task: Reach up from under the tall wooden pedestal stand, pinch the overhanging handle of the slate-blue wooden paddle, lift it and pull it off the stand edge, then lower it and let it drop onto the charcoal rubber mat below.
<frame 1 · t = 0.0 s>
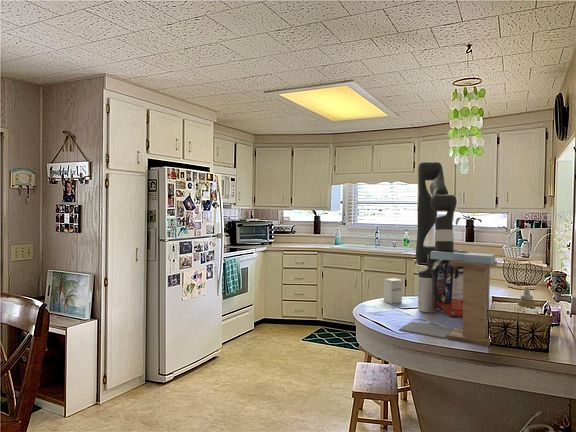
hand: (444, 278, 184), 22 cm above the table, tool pointing down, fingers open, 8 cm apart
squeeze bottle: (526, 328, 189), on the table
cereal box: (451, 311, 218), on the table
mat: (427, 330, 184), on the table
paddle: (466, 260, 174), point 31 cm above the table, touching wooden pedestal stand
wooden pedestal stand: (471, 338, 174), on the table
supplement box: (392, 302, 239), on the table
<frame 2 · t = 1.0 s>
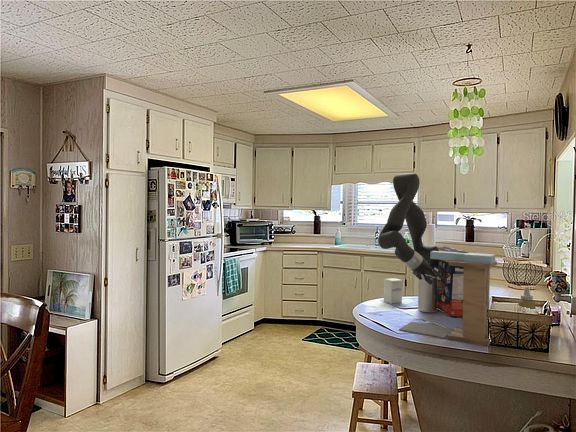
hand: (438, 282, 195), 18 cm above the table, tool tilted 50°, fingers open, 8 cm apart
nothing on the table moved.
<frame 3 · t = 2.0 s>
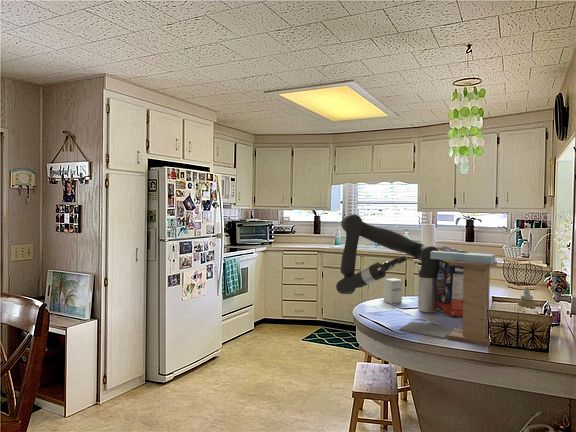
hand: (402, 258, 196), 29 cm above the table, tool pointing upward, fingers open, 8 cm apart
nothing on the table moved.
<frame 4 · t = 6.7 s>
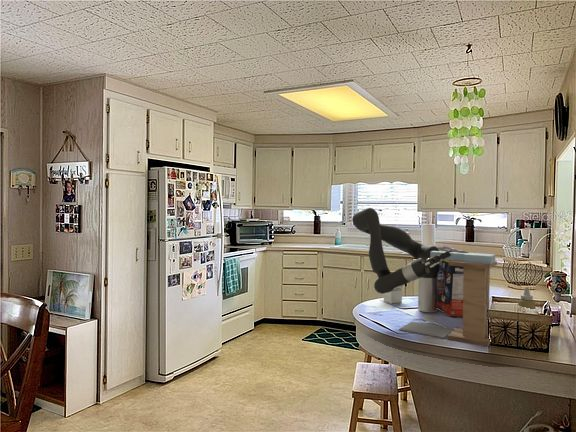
hand: (451, 252, 178), 34 cm above the table, tool pointing upward, fingers closed on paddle, 3 cm apart
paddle: (466, 260, 174), point 31 cm above the table, touching gripper, wooden pedestal stand
everything else where it was.
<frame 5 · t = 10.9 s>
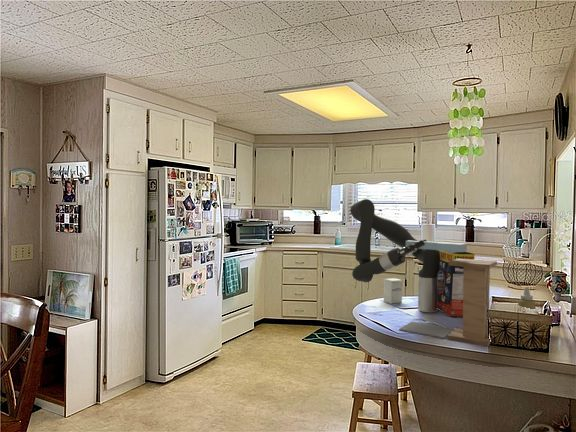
hand: (425, 241, 184), 38 cm above the table, tool pointing upward, fingers closed on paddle, 3 cm apart
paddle: (439, 249, 181), point 35 cm above the table, touching gripper
everything else where it was.
when the fingers open (27 cm above the table, at t = 15.5 s): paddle drops 24 cm, resting on mat.
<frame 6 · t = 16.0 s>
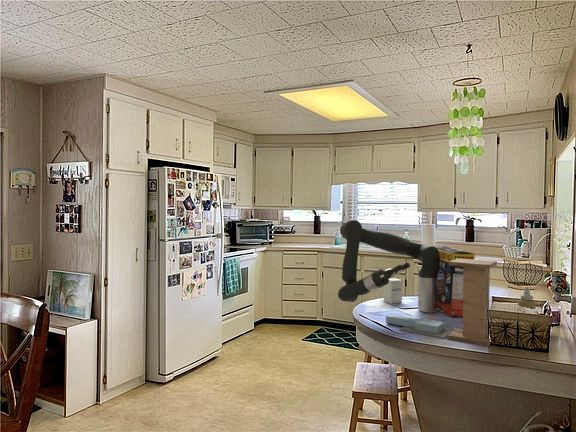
hand: (405, 265, 189), 27 cm above the table, tool pointing upward, fingers open, 8 cm apart
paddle: (417, 327, 187), point 1 cm above the table, touching mat
everything else where it was.
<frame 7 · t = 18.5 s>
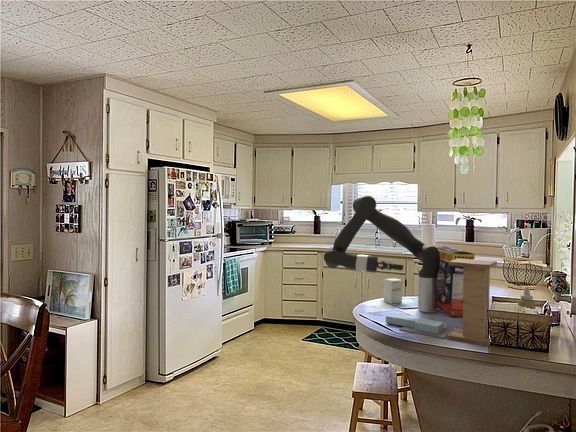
hand: (402, 267, 195), 25 cm above the table, tool horizontal, fingers open, 8 cm apart
nothing on the table moved.
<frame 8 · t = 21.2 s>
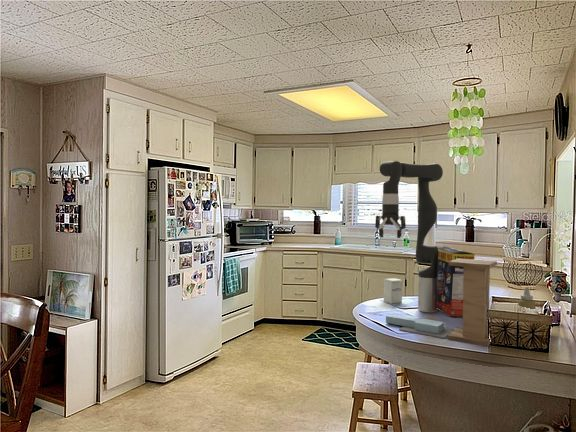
hand: (390, 237, 204), 38 cm above the table, tool pointing down, fingers open, 8 cm apart
nothing on the table moved.
at the end: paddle inside the target area (1.4 cm from its centre), point 0.6 cm above the table; the gripper is holding nothing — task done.
